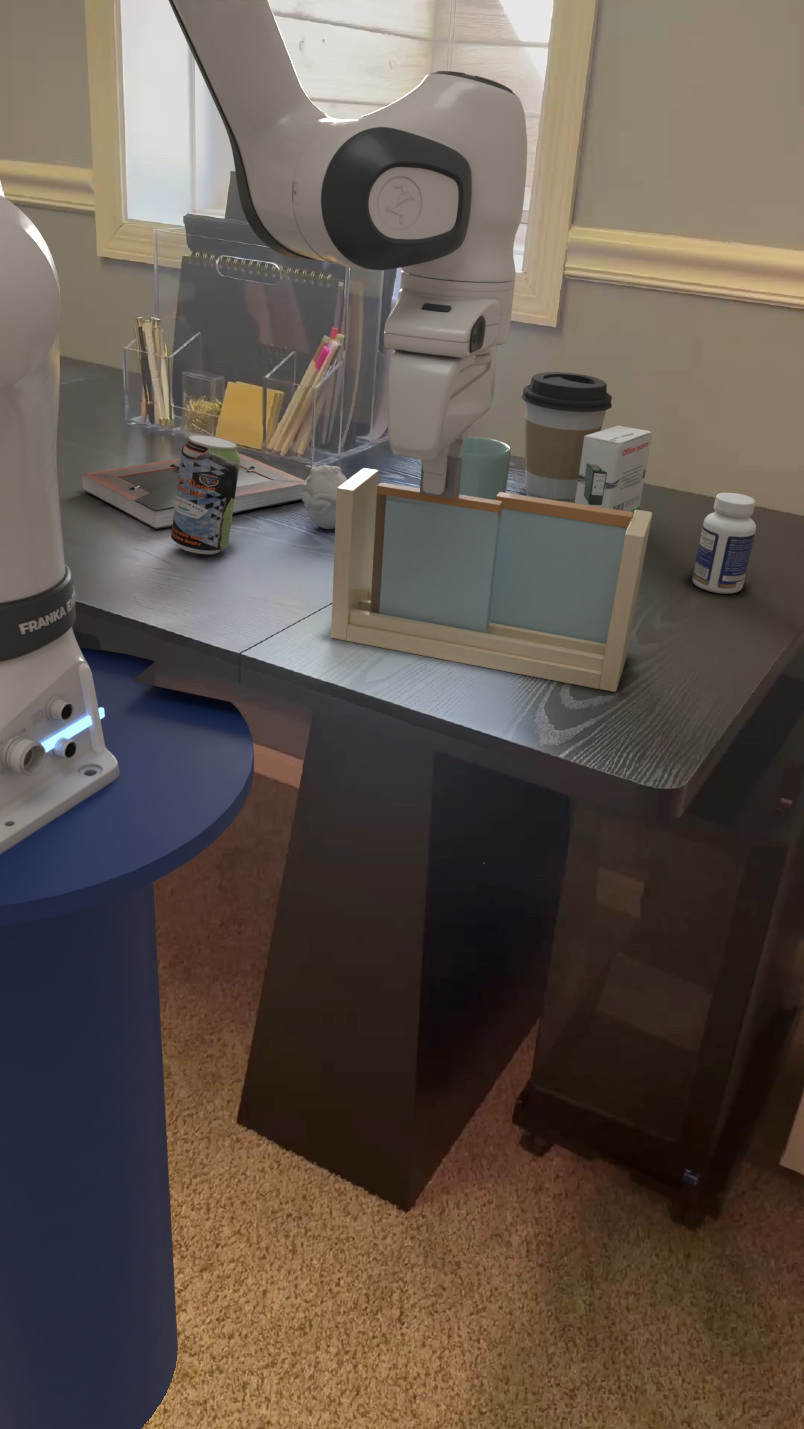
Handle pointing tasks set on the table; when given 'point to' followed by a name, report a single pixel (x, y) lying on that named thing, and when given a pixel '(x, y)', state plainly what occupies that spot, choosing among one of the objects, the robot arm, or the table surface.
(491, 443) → the cup
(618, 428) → the ink box
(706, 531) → the pill bottle
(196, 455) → the beverage can
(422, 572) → the window pane
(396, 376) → the robot arm
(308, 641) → the table surface
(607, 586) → the window frame
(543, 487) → the coffee cup
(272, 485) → the picture frame
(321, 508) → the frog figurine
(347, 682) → the table surface
